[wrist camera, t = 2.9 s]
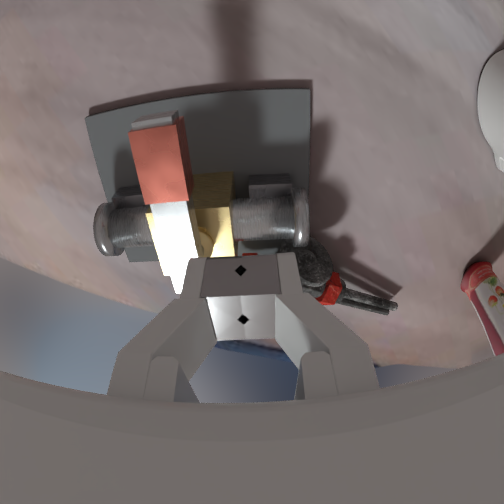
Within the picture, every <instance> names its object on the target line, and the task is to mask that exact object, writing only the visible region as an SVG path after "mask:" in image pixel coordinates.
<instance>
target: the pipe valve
mask: <svg viewBox="0 0 504 504" xmlns="http://www.w3.org/2000/svg"><path fill="white" fill-rule="evenodd" d="M193 179H194V188H193V191H192V198H193V204H194V209H195V214H196V220H197V225H198V230H199V235H200V240H201V245H202V246H203V248H204V257H223V256H238V241H251V240H272V239H291V241H292V245H293V247H305V246H307V245H308V241H309V230H310V219H309V205H308V198H307V193H306V190H305V188H304V187H299V188H292V181H291V178H290V174H289V173H279V174H256V175H249V196H250V198H241V199H236V194H235V183H234V173H233V171H230V172H216V173H204V174H193ZM111 200H112V202H108V203H103V204H101V205H100V206H99V207H98V209H97V211H96V213H95V217H94V224H93V230H94V238H95V242H96V245H97V247H98V249H99V251H100V252H101V253H102V254H103V255H105V256H118V255H121V254H122V253H123V251H124V249H125V247H141V246H155V247H156V250H157V254H158V257H159V260H160V263H161V266H162V269H163V272H164V275H170V272H169V269H168V266H167V262H166V259H165V256H164V253H163V249H162V246H161V242H160V239H159V236H158V232H157V229H156V225H155V221H154V218H153V214H152V210H151V207H150V204H147V205H145V202H144V198H143V195H142V191H141V187H140V185H134V186H127V187H120V188H119V189H118V190H117V191H116V193H115V194H114V195H113V197H112V198H111Z"/></svg>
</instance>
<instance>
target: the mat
mask: <svg viewBox="0 0 504 504" xmlns="http://www.w3.org/2000/svg"><path fill="white" fill-rule="evenodd" d="M173 110H178V112H179V117H180V116H184V121H185V128H186V135H187V142H188V148H189V155H190V161H191V167H192V173H193V174H204V173H216V172H230V171H233V173H234V183H235V194H236V199H241V198H250V196H249V175H256V174H279V173H289V174H290V178H291V181H292V188H299V187H304V188H305V190H306V193H307V198H308V190H309V160H310V89H309V88H275V89H250V90H235V91H223V92H213V93H204V94H196V95H188V96H181V97H174V98H168V99H162V100H156V101H151V102H146V103H141V104H136V105H131V106H126V107H122V108H118V109H113V110H109V111H105V112H101V113H98V114H94V115H90V116H87V117H86V118H85V121H86V126H87V130H88V134H89V138H90V142H91V146H92V150H93V153H94V157H95V161H96V164H97V168H98V171H99V175H100V178H101V182H102V185H103V188H104V191H105V195H106V198H107V201H108V202H112V200H111V198H112V197H113V195H114V194H115V193H116V191H117V190H118V189H119V188H120V187H127V186H134V185H140V183H139V179H138V175H137V171H136V167H135V163H134V158H133V154H132V150H131V145H130V141H129V136H128V132H129V131H130V130H132V125H131V123H132V122H134V121H135V120H136V119H138V118H139V117H140V116H144V115H149V114H155V113H161V112H167V111H173ZM284 240H285V239H272V240H251V241H238V256H242V253H257V254H258V255H267V254H276V253H280V248H281V244H282V242H283V241H284ZM125 252H126V254H127V257H128V260H129V262H144V261H160V260H159V257H158V254H157V250H156V247H155V246H141V247H125Z"/></svg>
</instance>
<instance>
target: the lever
mask: <svg viewBox="0 0 504 504" xmlns="http://www.w3.org/2000/svg"><path fill="white" fill-rule="evenodd" d="M131 125H132V130H130V131H129V132H128V136H129V141H130V145H131V150H132V154H133V158H134V163H135V167H136V171H137V175H138V179H139V183H140V187H141V191H142V195H143V198H144V202H145V205H147V204H150V207H151V210H152V214H153V218H154V221H155V225H156V229H157V232H158V236H159V239H160V242H161V246H162V249H163V253H164V256H165V259H166V262H167V266H168V269H169V272H170V275H171V278H172V281H173V284H174V288H175V291H176V293H181V290H182V285H183V280H184V276H185V271H186V267H187V263H188V260H189V259H190V258H200V257H204V248H203V246H202V245H201V240H200V235H199V230H198V225H197V220H196V214H195V209H194V204H193V198H192V191H193V188H194V179H193V173H192V167H191V161H190V155H189V148H188V142H187V135H186V128H185V121H184V116H180V117H179V112H178V110H173V111H167V112H161V113H155V114H149V115H144V116H140V117H139V118H138V119H136V120H135V121H134V122H132V123H131Z"/></svg>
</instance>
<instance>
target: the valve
mask: <svg viewBox="0 0 504 504" xmlns="http://www.w3.org/2000/svg"><path fill="white" fill-rule="evenodd" d="M288 252H294V253H295V256H296V261H297V266H298V271H299V276H300V281H301V286H302V291H303V293H309V294H310V295H311V296H313V297H314V298H315V299H316V300H317V301H318V302H319V303H321V304H322V305H334V304H335V303H338V304H342V305H346V306H350V307H354V308H358V309H362V310H367V311H371V312H375V313H379V314H383V315H388V314H389V310H392V311H395V310H396V309H397V307H398V304H397V303H396V302H392V301H389V300H385V299H382V298H378V297H375V296H372V295H368V294H365V293H361V292H358V291H354V290H351V289H348V288H346V285H345V282H344V281H343V280H342V279H341V278H340V277H339V273H336V272H333V265H332V262H331V259H330V257H329V254H328V253H327V251H326V250H325V248H324V247H323V246H322V245H321V244H320V243H319V242H318V241H316V240H315V239H314V238H312V237H310V236H309V241H308V245H307V246H305V247H293V245H292V241H291V239H285V240H284V241H283V242H282V244H281V248H280V253H288ZM251 255H258V254H257V253H242V256H251Z"/></svg>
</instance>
